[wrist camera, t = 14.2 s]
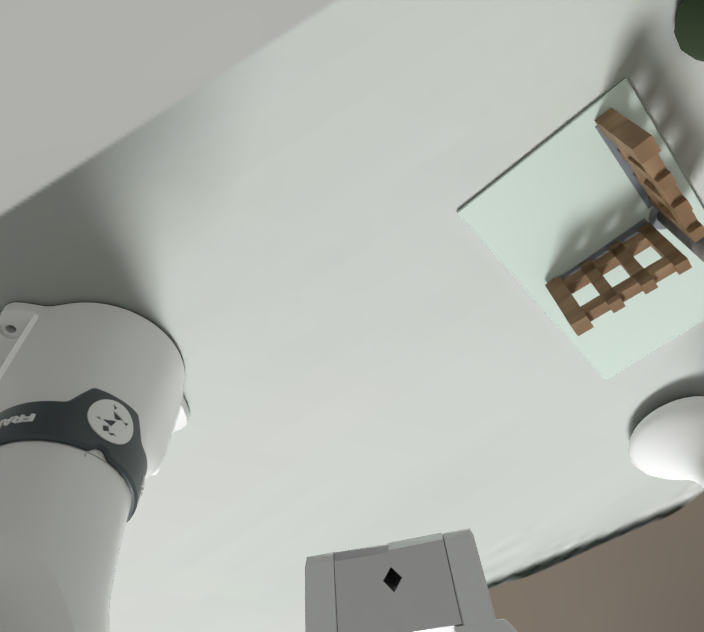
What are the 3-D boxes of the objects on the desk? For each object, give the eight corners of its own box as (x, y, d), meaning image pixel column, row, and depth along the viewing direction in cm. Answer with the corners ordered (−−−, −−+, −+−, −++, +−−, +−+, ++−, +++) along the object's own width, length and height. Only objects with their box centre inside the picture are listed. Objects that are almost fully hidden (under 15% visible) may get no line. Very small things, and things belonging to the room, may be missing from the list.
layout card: (603, 378, 60) (605, 381, 59) (456, 211, 48) (458, 213, 48) (749, 289, 55) (752, 291, 54) (625, 78, 43) (627, 79, 43)
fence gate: (544, 284, 52) (570, 325, 47) (647, 220, 49) (686, 256, 44) (551, 295, 53) (578, 336, 48) (654, 232, 50) (693, 269, 45)
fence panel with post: (659, 224, 50) (705, 266, 44) (591, 120, 45) (634, 153, 39) (677, 212, 50) (726, 253, 44) (610, 105, 44) (657, 136, 38)
